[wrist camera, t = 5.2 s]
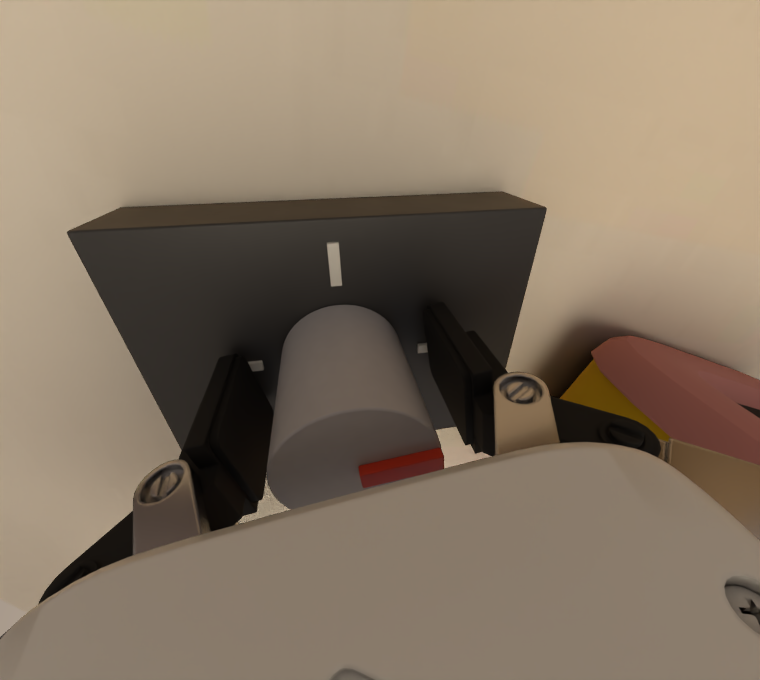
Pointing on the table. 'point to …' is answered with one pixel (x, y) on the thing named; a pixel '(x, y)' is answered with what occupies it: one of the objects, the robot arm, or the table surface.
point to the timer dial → (346, 410)
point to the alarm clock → (673, 395)
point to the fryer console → (303, 280)
